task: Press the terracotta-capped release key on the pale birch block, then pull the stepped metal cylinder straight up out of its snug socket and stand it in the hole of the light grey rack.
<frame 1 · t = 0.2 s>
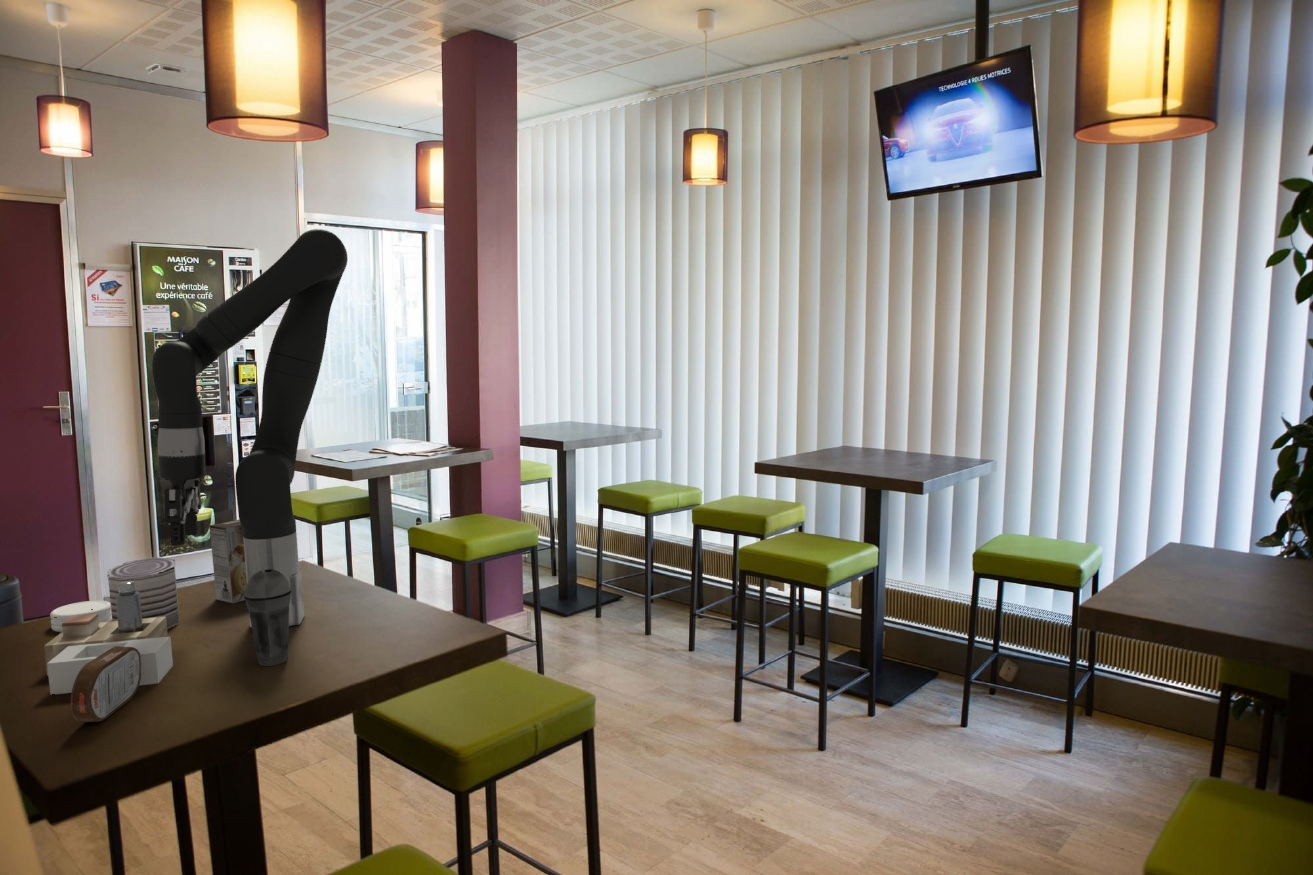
hand: (184, 539, 161), 18 cm above the table, tool pointing down, fingers open, 8 cm apart
stepped metal cylinder: (133, 656, 151), resting in socket block
coffee box: (244, 597, 187), on the table
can: (147, 627, 168), on the table
socket block: (110, 658, 150), on the table
white round container: (82, 625, 170), on the table
beverage cup: (273, 662, 147), on the table
tin: (111, 711, 129), on the table
release key: (81, 631, 149), point 5 cm above the table, slide at 0.0 cm
rack: (114, 679, 141), on the table
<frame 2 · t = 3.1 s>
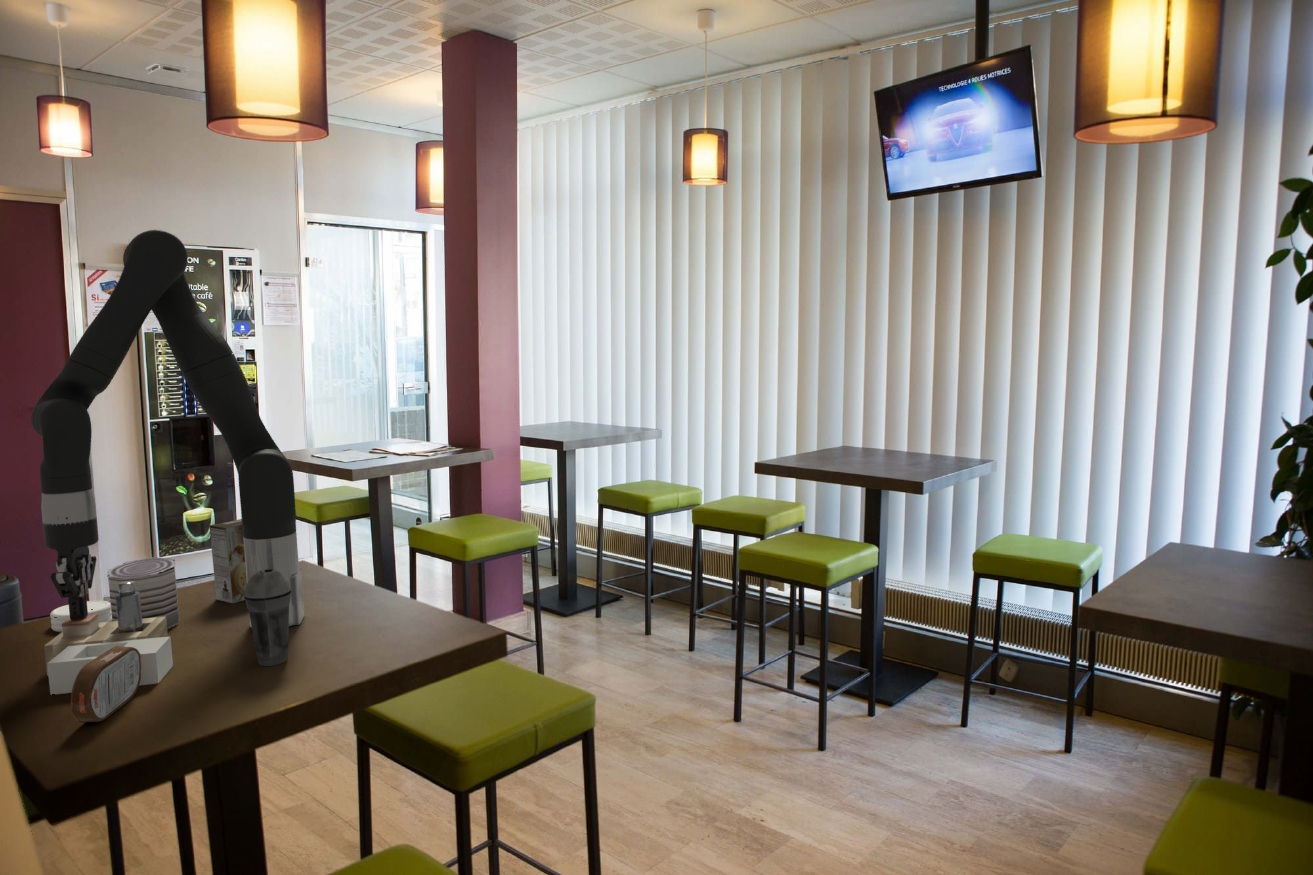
hand: (79, 618, 148), 8 cm above the table, tool pointing down, fingers closed
release key: (81, 631, 149), point 5 cm above the table, slide at 0.0 cm, touching gripper
everything else where it was.
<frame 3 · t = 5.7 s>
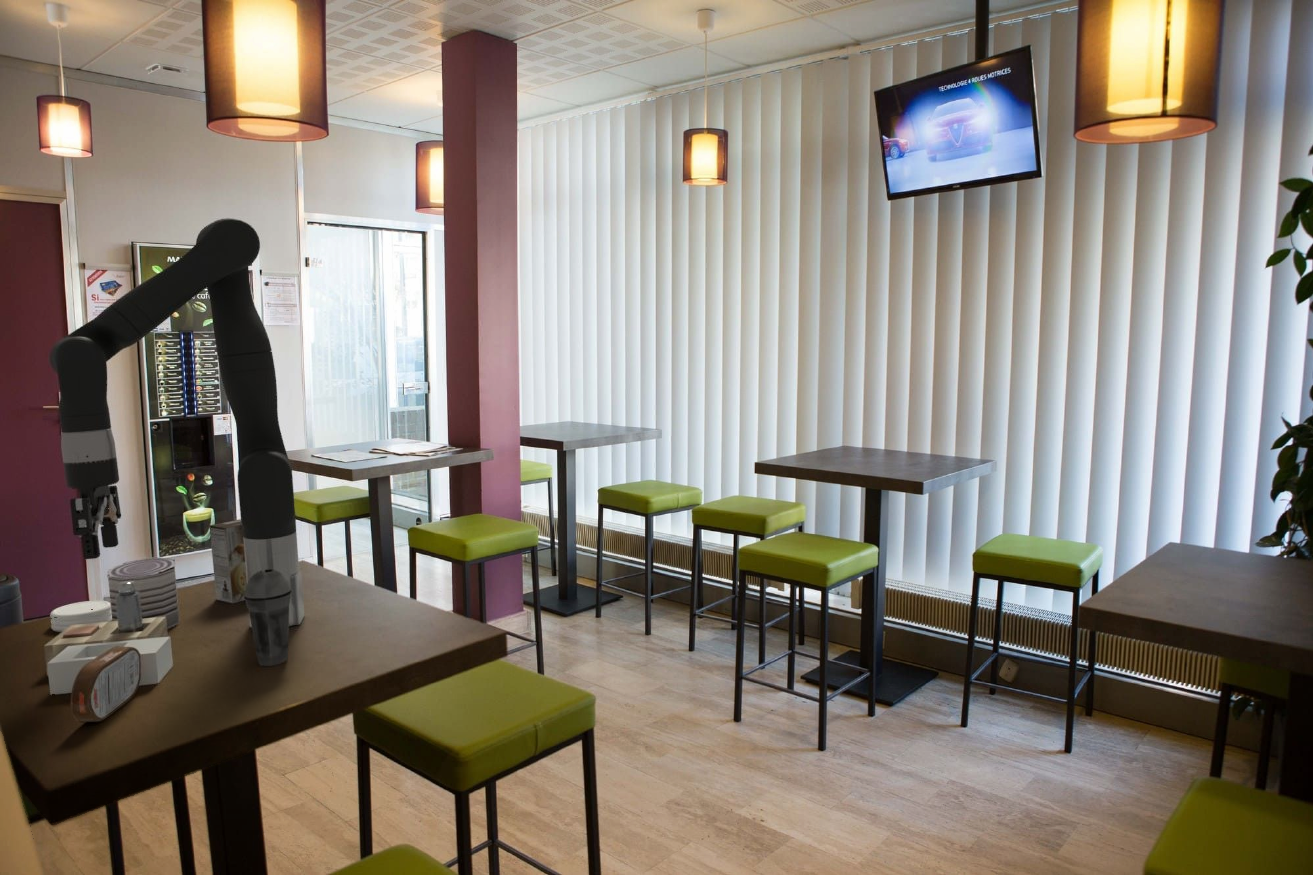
hand: (101, 552, 148), 19 cm above the table, tool pointing down, fingers open, 8 cm apart
release key: (82, 642, 149), point 3 cm above the table, slide at 2.0 cm
everything else where it was.
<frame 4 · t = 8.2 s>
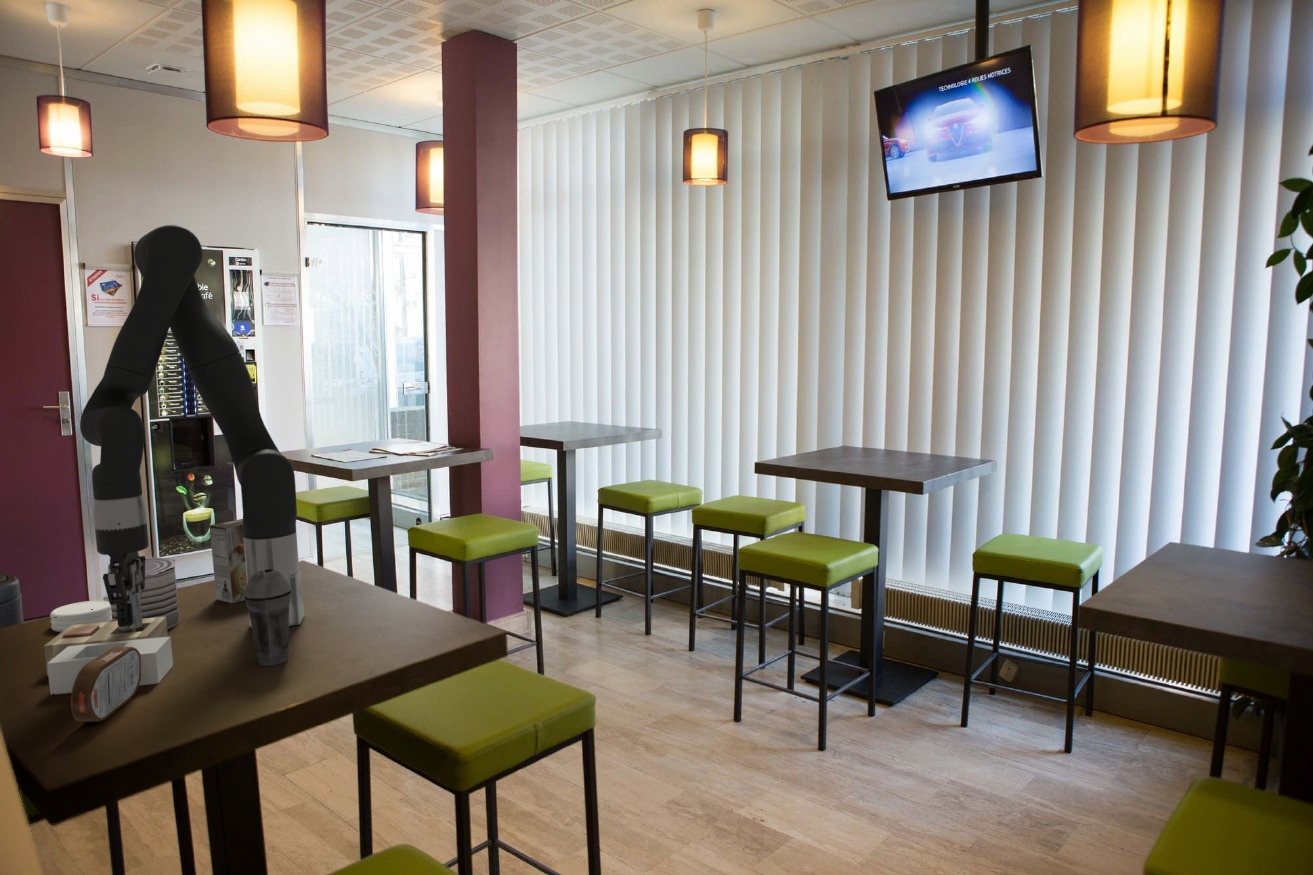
hand: (130, 621, 150), 6 cm above the table, tool pointing down, fingers closed on stepped metal cylinder, 3 cm apart
stepped metal cylinder: (133, 656, 151), resting in socket block, touching gripper
everything else where it was.
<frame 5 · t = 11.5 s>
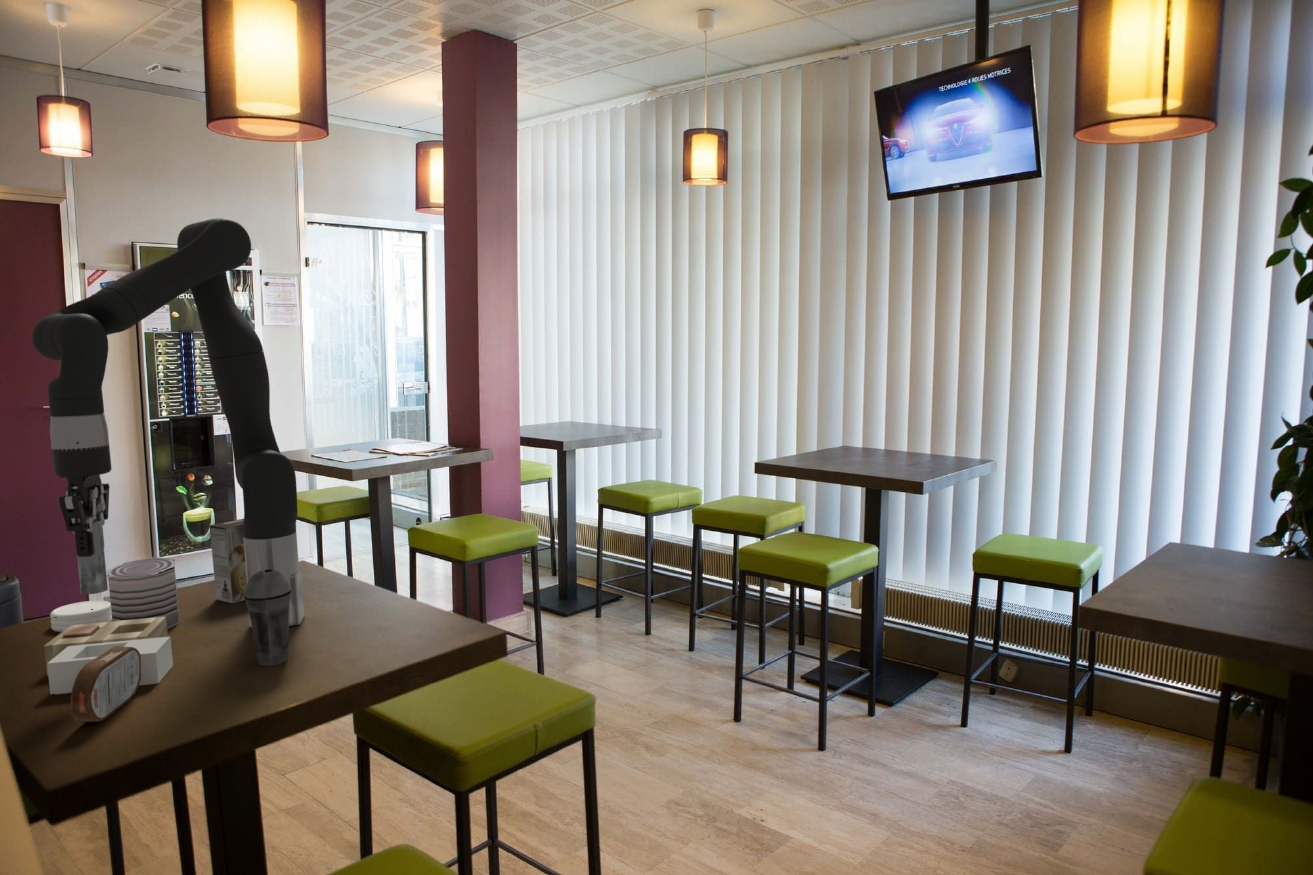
hand: (91, 552, 138), 21 cm above the table, tool pointing down, fingers closed on stepped metal cylinder, 3 cm apart
stepped metal cylinder: (94, 591, 139), point 15 cm above the table, touching gripper
everything else where it was.
when the fingers open (8 cm above the table, at t = 14.8 s): stepped metal cylinder drops 1 cm, resting in rack.
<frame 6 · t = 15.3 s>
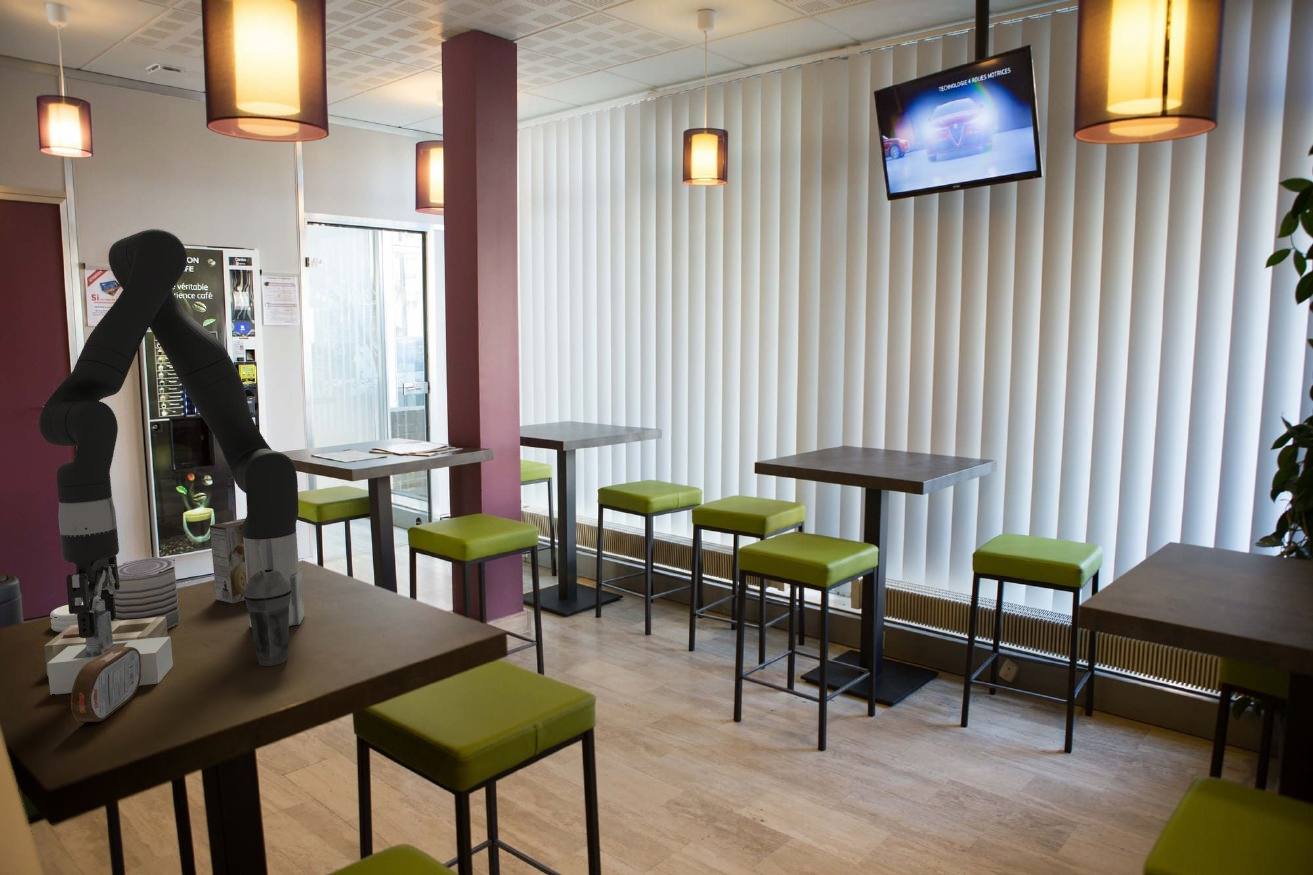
hand: (98, 628, 139), 9 cm above the table, tool pointing down, fingers open, 8 cm apart
stepped metal cylinder: (103, 680, 140), resting in rack
everything else where it was.
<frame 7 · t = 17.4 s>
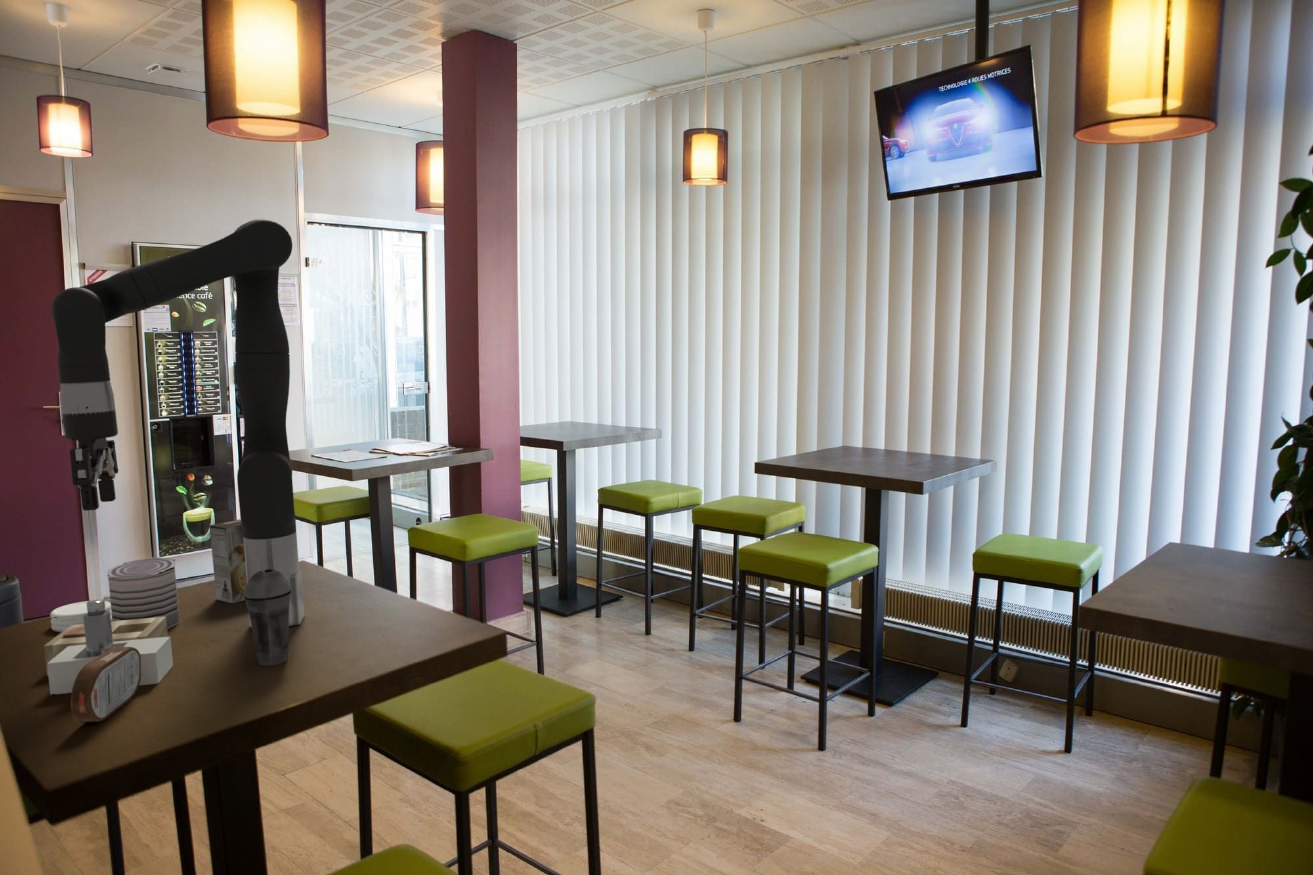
hand: (99, 505, 148), 26 cm above the table, tool pointing down, fingers open, 8 cm apart
nothing on the table moved.
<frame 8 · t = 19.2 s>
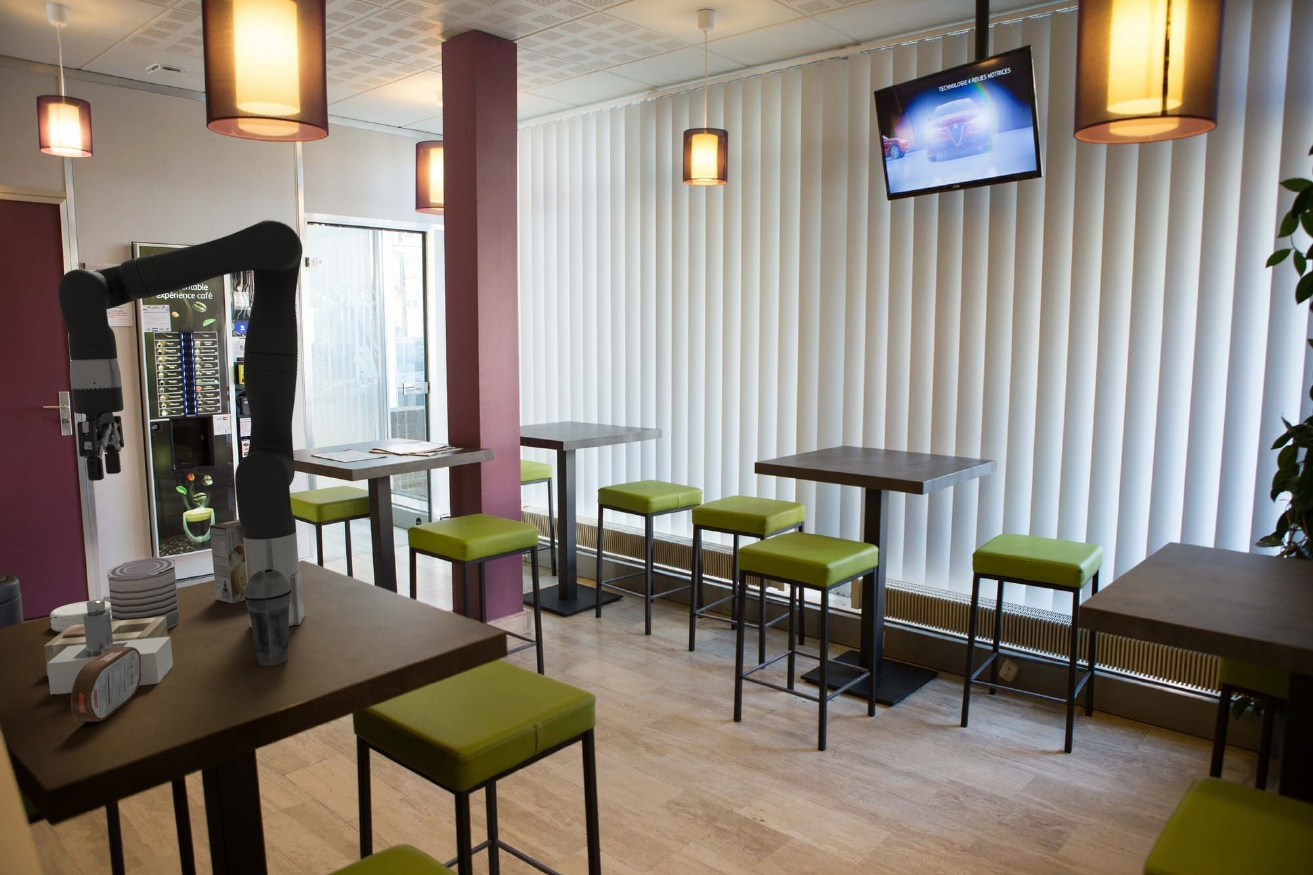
hand: (105, 476, 156), 30 cm above the table, tool pointing down, fingers open, 8 cm apart
nothing on the table moved.
at the end: release key slide at 2.0 cm; stepped metal cylinder 0.1 cm from the target spot on the rack, point 0.0 cm above the rack's base; stepped metal cylinder tilted 0° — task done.
